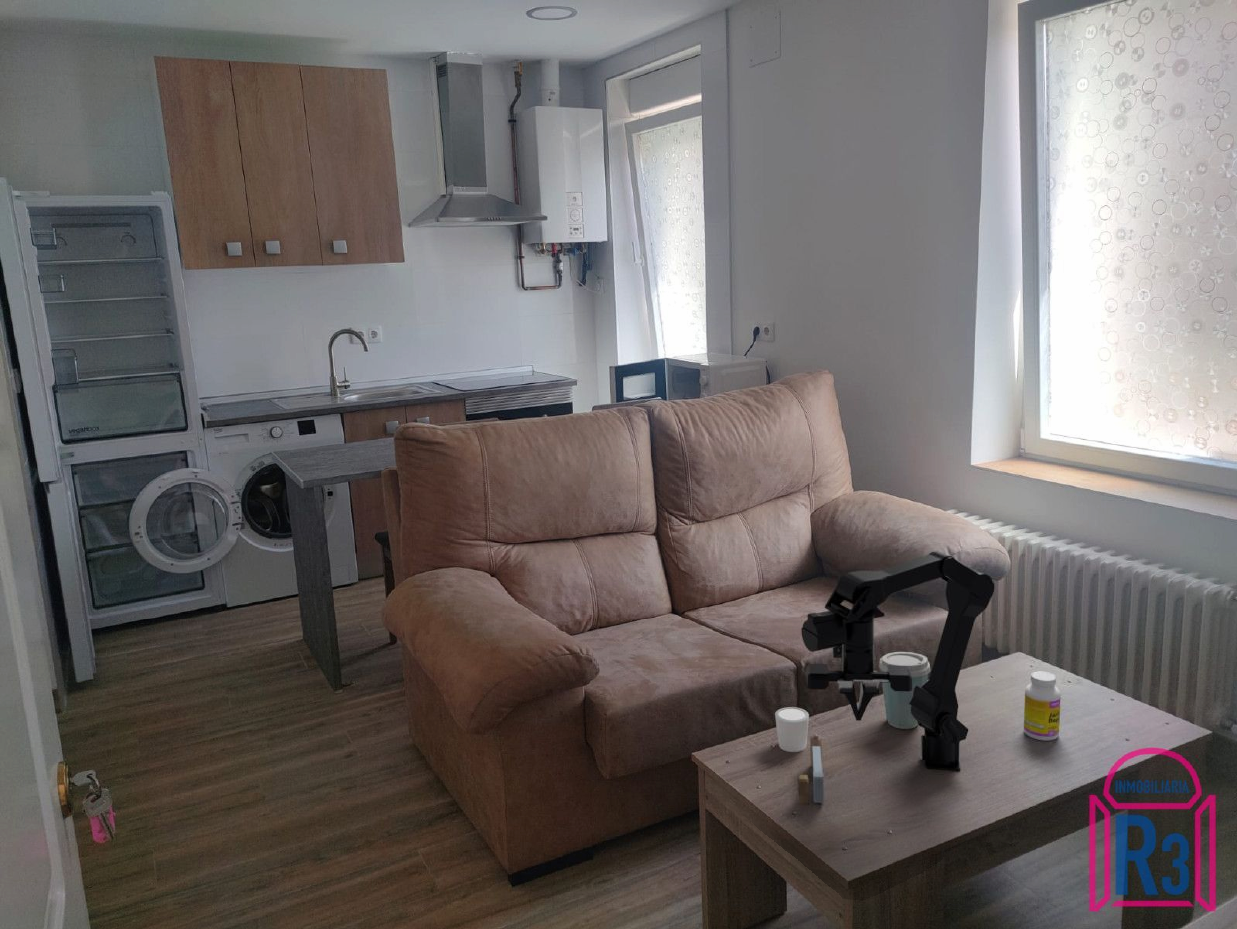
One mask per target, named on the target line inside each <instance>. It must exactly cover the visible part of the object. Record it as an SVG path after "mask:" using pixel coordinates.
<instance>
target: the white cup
mask: <svg viewBox="0 0 1237 929" xmlns="http://www.w3.org/2000/svg"><path fill="white" fill-rule="evenodd" d="M774 716H775V717H774V718H775V725H776V733H777V741H778V746H779V748H780V749H781V750H783V751H785V752H789V753H798V752H803V751H804V750H805V749H806V747H807V745H808V743H807V742H808V730H809V721H810V720H809V719H810V714H809V712H808V711H807V710H805V709H804V708H800V707H794V706H791V707H789V706H788V707H782V708H779V709H778V710H776V711H775V713H774Z"/></svg>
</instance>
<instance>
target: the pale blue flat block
mask: <svg viewBox="0 0 1237 929" xmlns="http://www.w3.org/2000/svg"><path fill="white" fill-rule="evenodd" d="M822 740H823V739H822V736H820V735H819V734H817V733H814V734H813V735H811V736H810V738H809V742H810V745H809V746H810V749H809V750H810V752H809V753H810V766H811V767H812V775H813V776H812V777H813V778H812V780H813V782H812V783H813V784H812V786H813V803H819V804H820V803H821V804H824V802H825V788H824V786H825V781H824V780H825V778H824V772H823V747H822V746H823V743H822V742H823V741H822Z"/></svg>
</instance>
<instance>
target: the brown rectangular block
mask: <svg viewBox="0 0 1237 929" xmlns="http://www.w3.org/2000/svg"><path fill="white" fill-rule="evenodd" d="M809 781H810V780H809V777H808V774H799V777H798V784H797V785H798V805H810V789H809V788H810V784H809V783H810V782H809Z"/></svg>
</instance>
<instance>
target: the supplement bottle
mask: <svg viewBox="0 0 1237 929" xmlns="http://www.w3.org/2000/svg"><path fill="white" fill-rule="evenodd" d="M1030 682H1031V683H1029V684H1027V686H1026V687H1025V689H1024V710H1023V711H1024V712H1023V731H1024V733H1025V735H1027V736H1028V737H1029V738H1032V739H1034V740H1038V741H1045V742H1046V741H1048V742H1049V741H1054V740H1055V739H1057V738H1058V737H1059V736H1060V721H1061V720H1060V719H1061V718H1060V716H1061V714H1060V713H1061V698H1062V697H1061V695H1062V694H1061V691H1060V689H1058V687H1057V686H1056V684H1057V677H1056V675H1054V674H1053V673H1052V672H1048V671H1041V670H1039V671H1034V672H1032V673H1031V674H1030Z"/></svg>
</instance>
